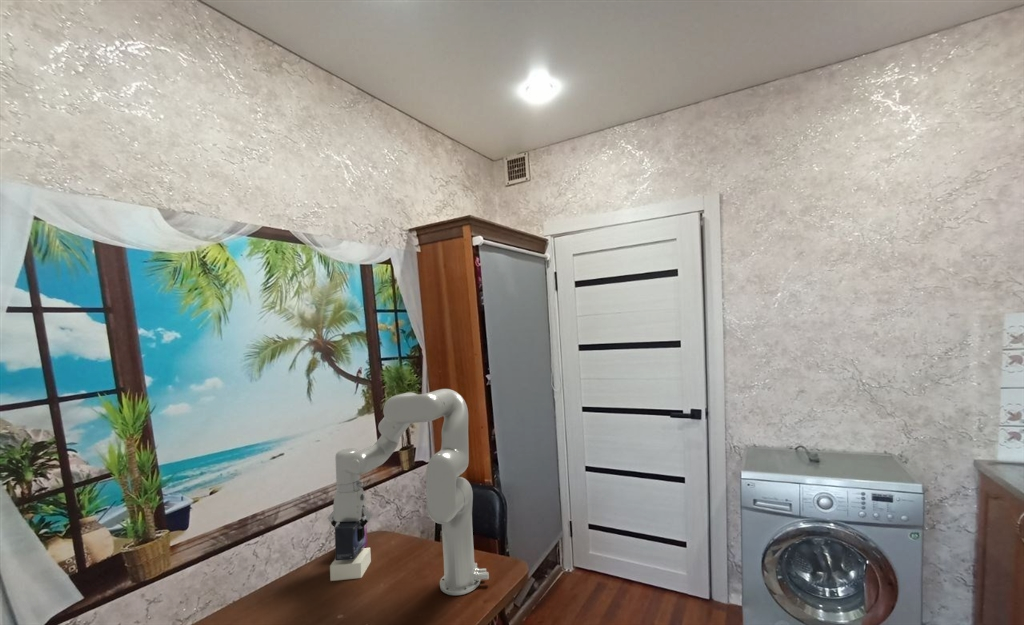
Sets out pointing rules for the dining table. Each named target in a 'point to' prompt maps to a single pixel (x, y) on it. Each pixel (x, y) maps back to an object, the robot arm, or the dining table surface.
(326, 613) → the dining table surface
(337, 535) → the small box
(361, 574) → the base block
